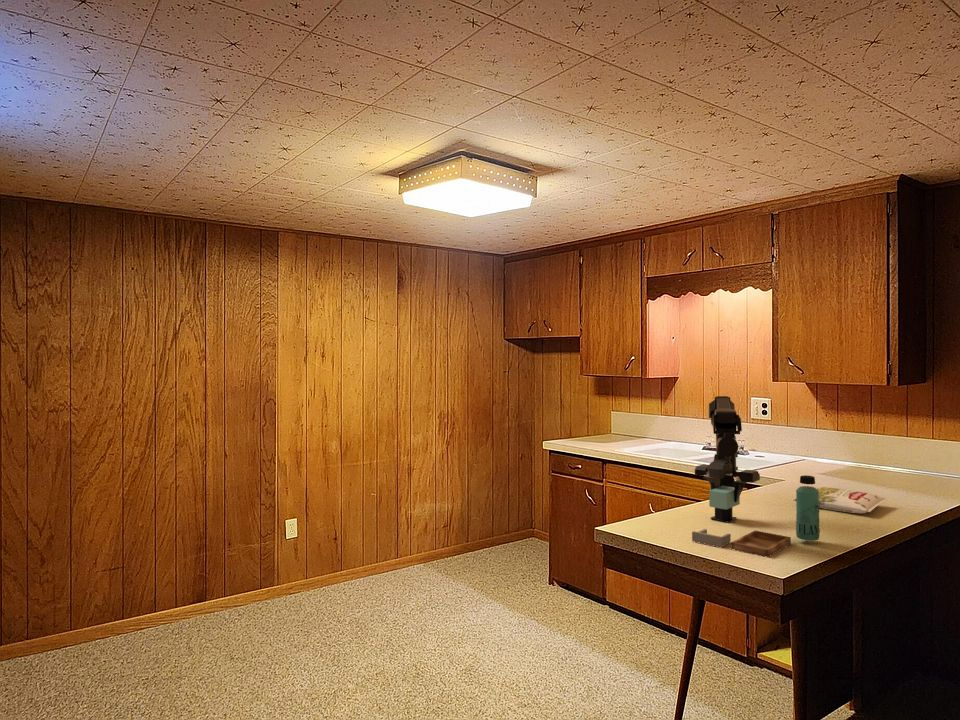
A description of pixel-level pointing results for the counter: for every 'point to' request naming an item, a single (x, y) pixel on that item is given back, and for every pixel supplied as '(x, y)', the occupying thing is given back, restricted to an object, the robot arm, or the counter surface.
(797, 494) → the beverage bottle
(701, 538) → the dock
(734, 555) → the counter surface
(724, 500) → the mint rectangular block
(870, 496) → the frozen beans
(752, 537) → the tray
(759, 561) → the counter surface
